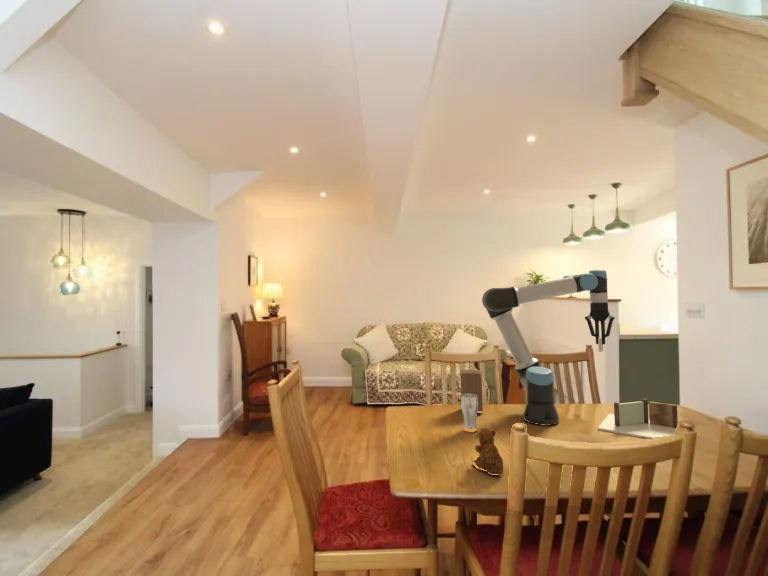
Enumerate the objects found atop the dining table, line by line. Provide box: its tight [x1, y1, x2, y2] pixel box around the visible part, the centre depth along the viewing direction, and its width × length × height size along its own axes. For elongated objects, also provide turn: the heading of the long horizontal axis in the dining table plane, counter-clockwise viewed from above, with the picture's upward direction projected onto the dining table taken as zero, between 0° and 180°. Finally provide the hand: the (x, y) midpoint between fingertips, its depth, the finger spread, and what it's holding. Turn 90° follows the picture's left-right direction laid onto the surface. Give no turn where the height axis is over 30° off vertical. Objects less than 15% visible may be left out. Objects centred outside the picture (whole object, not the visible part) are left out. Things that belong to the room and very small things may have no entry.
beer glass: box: [460, 394, 478, 429], centre depth 169 cm, size 7×7×15 cm
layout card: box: [597, 413, 676, 440], centre depth 165 cm, size 27×24×1 cm
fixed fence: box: [641, 398, 679, 428], centre depth 165 cm, size 12×2×11 cm, turn 50°
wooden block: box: [460, 369, 484, 411], centre depth 195 cm, size 10×10×20 cm
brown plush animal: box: [473, 427, 504, 475], centre depth 130 cm, size 10×14×13 cm
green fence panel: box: [613, 400, 644, 426], centre depth 167 cm, size 14×2×10 cm, turn 101°
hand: (600, 351), depth 187 cm, fingers closed
